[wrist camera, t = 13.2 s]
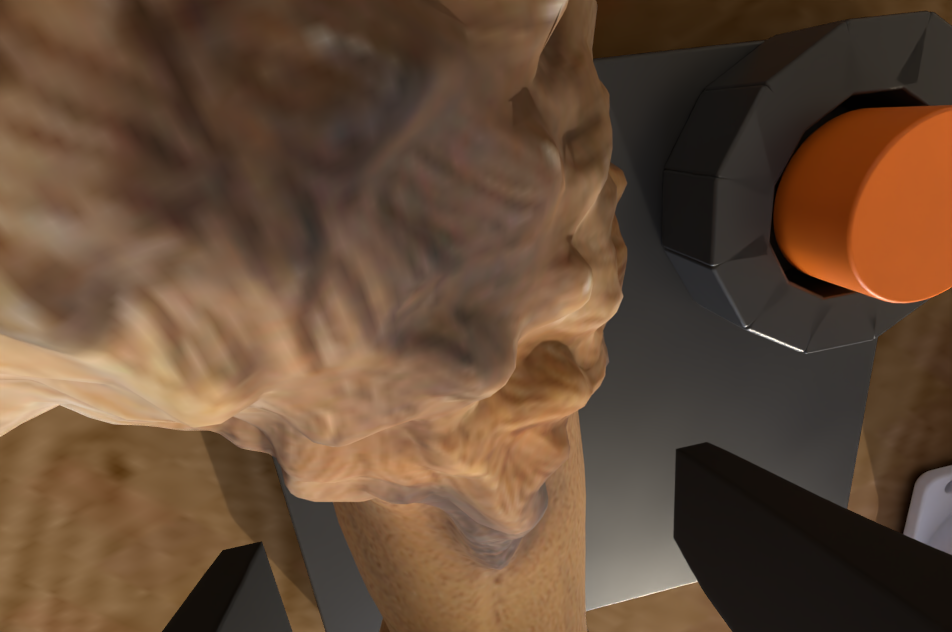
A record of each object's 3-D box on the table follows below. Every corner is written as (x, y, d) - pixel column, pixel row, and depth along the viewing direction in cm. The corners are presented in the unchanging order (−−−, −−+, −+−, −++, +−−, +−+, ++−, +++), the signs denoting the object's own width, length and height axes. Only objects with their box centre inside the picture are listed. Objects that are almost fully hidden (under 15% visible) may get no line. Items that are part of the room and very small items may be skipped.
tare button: (934, 98, 10) (1045, 93, 8) (902, 263, 11) (994, 287, 9) (779, 118, 9) (866, 117, 8) (764, 288, 10) (837, 318, 9)
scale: (886, 26, 12) (1043, -3, 9) (812, 517, 17) (899, 593, 14) (185, 105, 10) (114, 97, 7) (341, 636, 15) (334, 754, 12)
